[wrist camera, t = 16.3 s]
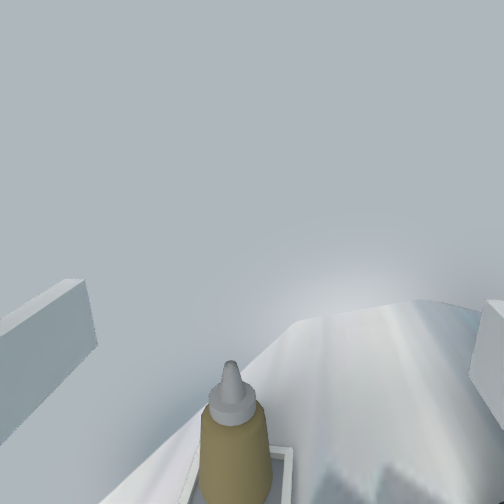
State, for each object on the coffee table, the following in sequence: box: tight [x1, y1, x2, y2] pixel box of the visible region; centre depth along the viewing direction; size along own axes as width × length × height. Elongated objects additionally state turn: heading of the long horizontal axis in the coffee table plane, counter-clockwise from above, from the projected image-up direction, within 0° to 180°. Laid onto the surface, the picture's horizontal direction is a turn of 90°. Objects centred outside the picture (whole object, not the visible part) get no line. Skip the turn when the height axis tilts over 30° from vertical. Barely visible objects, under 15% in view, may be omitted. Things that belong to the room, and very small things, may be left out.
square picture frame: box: [178, 442, 293, 504], centre depth 39 cm, size 12×13×2 cm
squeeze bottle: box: [199, 361, 273, 504], centre depth 36 cm, size 8×8×18 cm
